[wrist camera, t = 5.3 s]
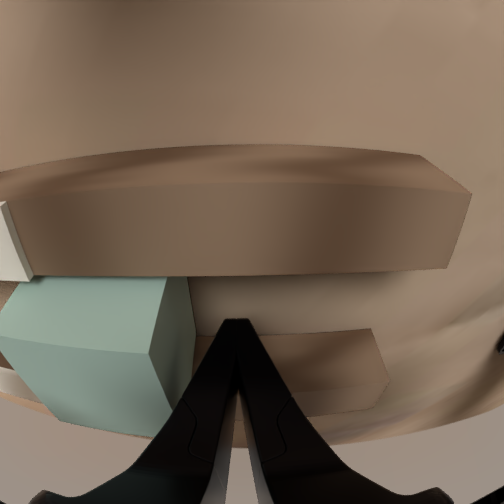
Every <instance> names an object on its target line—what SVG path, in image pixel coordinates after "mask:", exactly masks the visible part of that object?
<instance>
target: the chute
mask: <svg viewBox="0 0 504 504" xmlns="http://www.w3.org/2000/svg"><path fill="white" fill-rule="evenodd" d="M471 196H472V193H471V192H469V191H468V190H467V189H466V188H464V187H463V186H462V185H460V184H459V183H458V182H456V181H455V180H454V179H453V178H451V177H450V176H449V175H447V174H446V173H444V172H443V171H442V170H440V169H439V168H438V167H436V166H435V165H433V164H432V163H430V162H429V161H428V160H426V159H425V158H423V157H422V156H420V155H413V154H406V153H397V152H388V151H378V150H368V149H356V148H342V147H326V146H305V145H210V146H188V147H172V148H158V149H146V150H135V151H126V152H117V153H108V154H100V155H93V156H86V157H79V158H72V159H66V160H60V161H54V162H48V163H43V164H37V165H32V166H27V167H22V168H18V169H13V170H9V171H4V172H0V280H4V281H27V282H29V281H30V280H31V278H32V277H33V275H52V276H250V275H295V274H330V273H358V272H384V271H406V270H426V269H445V268H447V266H448V264H449V261H450V259H451V256H452V253H453V251H454V248H455V245H456V242H457V240H458V237H459V234H460V231H461V228H462V225H463V222H464V219H465V216H466V213H467V210H468V206H469V203H470V200H471ZM214 337H215V336H196V339H195V348H194V357H193V366H192V376H191V379H192V377H193V375H194V373H195V371H196V370H197V368H198V366H199V364H200V362H201V361H202V359H203V357H204V355H205V353H206V352H207V350H208V348H209V346H210V344H211V343H212V341H213V339H214ZM259 338H260V340H261V342H262V343H263V345H264V347H265V349H266V350H267V352H268V354H269V356H270V357H271V359H272V361H273V363H274V364H275V366H276V368H277V370H278V371H279V373H280V375H281V377H282V378H283V380H284V382H285V383H286V385H287V387H288V389H289V390H290V392H291V394H292V397H294V399H295V400H296V402H297V404H298V405H299V407H300V409H301V410H302V412H303V413H304V415H305V416H306V417H310V416H320V415H328V414H336V413H344V412H350V411H357V410H363V409H369V408H373V407H374V405H375V404H376V402H377V401H378V399H379V398H380V396H381V395H382V393H383V392H384V390H385V388H386V387H387V385H388V383H389V382H390V379H389V377H388V374H387V371H386V368H385V365H384V362H383V360H382V357H381V354H380V352H379V349H378V346H377V344H376V341H375V338H374V336H373V333H372V330H371V329H362V330H351V331H338V332H325V333H309V334H291V335H265V336H259ZM0 391H1V392H4V393H7V394H10V395H13V396H17V397H20V398H23V399H27V400H30V401H34V402H38V403H42V402H41V401H40V399H39V398H38V397H37V396H36V395H35V394H34V393H33V392H32V390H31V389H30V388H29V387H28V386H27V385H26V383H25V382H24V381H23V380H22V379H21V377H20V376H19V375H18V374H17V372H16V371H15V370H14V369H13V367H12V366H11V365H10V363H9V362H8V361H7V360H6V358H5V357H4V356H3V354H2V353H1V351H0ZM42 404H43V403H42ZM235 420H243V414H242V408H241V402H240V396H239V390H238V397H237V405H236V414H235Z"/></svg>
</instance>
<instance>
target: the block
mask: <svg viewBox="0 0 504 504" xmlns="http://www.w3.org/2000/svg"><path fill="white" fill-rule="evenodd" d="M195 339H196V328H195V322H194V317H193V311H192V305H191V299H190V293H189V286H188V280H187V276H52V275H33V277H32V278H31V280H30V281H29V282H27V281H21V282H20V283H19V284H18V286H17V287H16V289H15V290H14V292H13V293H12V295H11V296H10V298H9V299H8V301H7V303H6V304H5V306H4V307H3V309H2V310H1V312H0V351H1V353H2V354H3V356H4V357H5V358H6V360H7V361H8V362H9V363H10V365H11V366H12V367H13V369H14V370H15V371H16V372H17V374H18V375H19V376H20V377H21V379H22V380H23V381H24V382H25V383H26V385H27V386H28V387H29V388H30V389H31V390H32V392H33V393H34V394H35V395H36V396H37V397H38V398H39V399H40V401H41V402H42V403H43V404H44V405H45V406H46V407H47V408H48V409H49V410H50V411H51V412H52V413H53V414H54V415H55V416H56V417H57V418H58V419H59V420H60V421H63V422H67V423H71V424H75V425H80V426H85V427H90V428H95V429H100V430H106V431H112V432H118V433H125V434H132V435H140V436H148V437H155V436H156V435H157V433H158V432H159V431H160V429H161V428H162V427H163V425H164V424H165V423H166V421H167V420H168V418H169V417H170V415H171V413H172V412H173V410H174V408H175V407H176V405H177V403H178V401H179V400H180V398H182V395H183V393H184V391H185V389H186V387H187V386H188V384H189V382H190V380H191V376H192V366H193V357H194V348H195Z"/></svg>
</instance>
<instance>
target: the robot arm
mask: <svg viewBox="0 0 504 504" xmlns="http://www.w3.org/2000/svg"><path fill="white" fill-rule="evenodd" d="M497 351H498V353H499V354H503V353H504V339H503V340H502V342H501V343H500V345H499V346H498V348H497ZM238 390H239V396H240V402H241V408H242V414H243V420H244V426H245V432H246V438H247V444H248V449H249V455H250V460H251V466H252V471H253V477H254V482H255V487H256V493H257V497H258V502H259V504H454V502H453V500H452V499H451V498H450V497H449V495H447V494H446V493H445V492H444V491H442V490H441V489H440V488H438V487H435V488H431V489H428V490H425V491H422V492H419V493H417V494H414V495H400V494H396V493H394V492H391V491H390V490H388V489H386V488H384V487H382V486H380V485H378V484H377V483H375V482H373V481H371V480H369V479H368V478H366V477H364V476H362V475H360V474H359V473H357V472H356V471H354V470H352V469H351V468H349V467H348V466H347V465H346V464H345V463H344V462H343V461H342V460H341V459H340V458H339V457H338V456H337V455H336V454H335V453H334V451H333V450H332V449H331V448H330V447H329V445H328V444H327V443H326V442H325V441H324V439H323V438H322V437H321V436H320V435H319V433H318V432H317V431H316V430H315V428H314V427H313V426H312V424H311V423H310V422H309V420H308V419H307V418H306V416H305V415H304V413H303V412H302V410H301V409H300V407H299V405H298V404H297V402H296V400H295V399H294V397H292V394H291V392H290V390H289V389H288V387H287V385H286V383H285V382H284V380H283V378H282V377H281V375H280V373H279V371H278V370H277V368H276V366H275V364H274V363H273V361H272V359H271V357H270V356H269V354H268V352H267V350H266V349H265V347H264V345H263V343H262V342H261V340H260V338H259V336H258V334H257V333H256V331H255V329H254V327H253V325H252V324H251V322H250V320H249V319H248V318H238V319H225V320H224V321H223V323H222V325H221V326H220V328H219V330H218V332H217V334H216V335H215V337H214V339H213V341H212V343H211V344H210V346H209V348H208V350H207V352H206V353H205V355H204V357H203V359H202V361H201V362H200V364H199V366H198V368H197V370H196V371H195V373H194V375H193V377H192V379H191V380H190V382H189V384H188V386H187V387H186V389H185V391H184V393H183V395H182V398H180V400H179V401H178V403H177V405H176V407H175V408H174V410H173V412H172V413H171V415H170V417H169V418H168V420H167V421H166V423H165V424H164V425H163V427H162V428H161V429H160V431H159V432H158V433H157V435H156V436H155V437H154V439H153V440H152V441H151V443H150V444H149V445H148V446H147V448H146V449H145V450H144V452H143V453H142V454H141V455H140V457H139V458H138V459H137V460H136V461H135V462H134V463H133V465H131V466H130V467H129V468H128V469H127V470H126V471H124V472H123V473H121V474H119V475H118V476H116V477H114V478H112V479H111V480H109V481H107V482H106V483H104V484H102V485H100V486H98V487H97V488H95V489H93V490H91V491H90V492H87V493H86V494H83V495H81V496H77V497H65V496H62V495H59V494H56V493H53V492H50V491H46V490H42V491H41V492H40V493H38V494H37V495H36V496H35V497H34V498H32V500H31V501H30V503H29V504H225V499H226V490H227V483H228V474H229V464H230V457H231V448H232V440H233V431H234V423H235V414H236V405H237V397H238ZM0 504H6V503H4V502H2V501H0ZM471 504H504V486H502V487H500V488H499V489H497V490H495V491H493V492H491V493H489V494H488V495H486V496H484V497H482V498H480V499H478V500H477V501H475V502H473V503H471Z"/></svg>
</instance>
